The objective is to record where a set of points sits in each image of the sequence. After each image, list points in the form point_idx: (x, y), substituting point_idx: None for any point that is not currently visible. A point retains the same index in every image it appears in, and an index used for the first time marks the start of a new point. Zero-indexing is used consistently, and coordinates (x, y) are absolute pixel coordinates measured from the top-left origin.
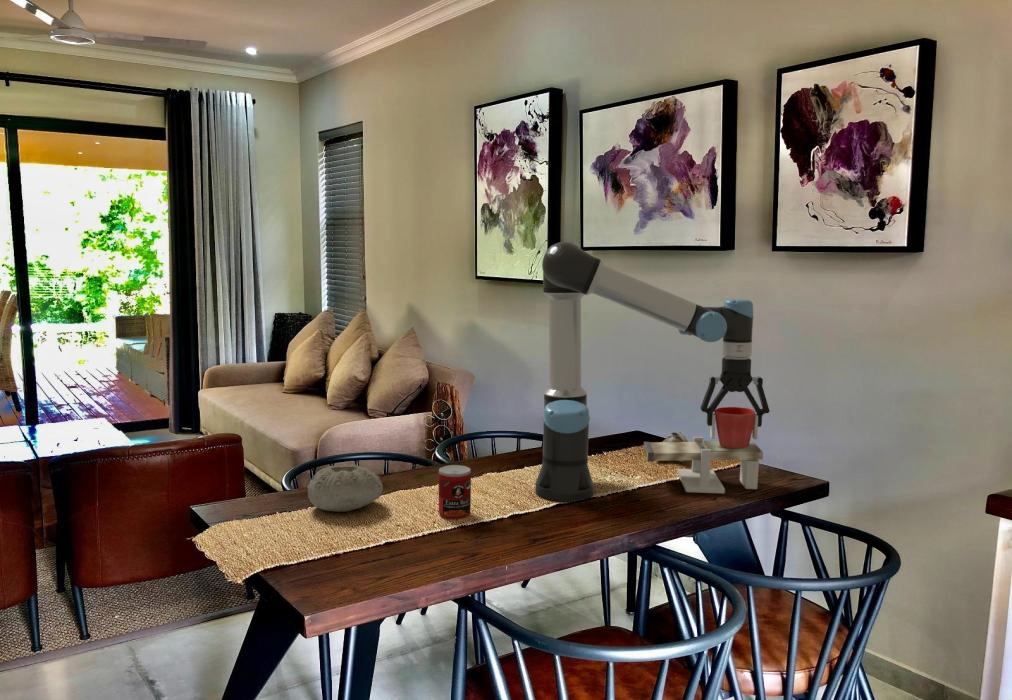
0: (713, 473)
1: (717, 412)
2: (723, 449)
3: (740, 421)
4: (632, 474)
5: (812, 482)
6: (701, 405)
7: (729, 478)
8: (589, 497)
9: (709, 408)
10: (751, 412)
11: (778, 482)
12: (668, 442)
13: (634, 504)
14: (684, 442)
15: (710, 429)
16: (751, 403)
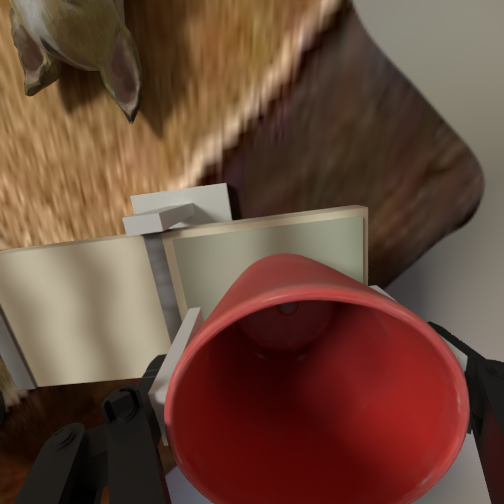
0: (226, 216)
1: (189, 481)
2: None
3: (322, 475)
4: (29, 239)
5: (466, 192)
6: (36, 477)
7: (267, 210)
8: (3, 418)
9: (119, 443)
10: (439, 382)
11: (381, 214)
12: (44, 252)
13: (91, 423)
14: (102, 248)
15: (181, 327)
16: (501, 499)
